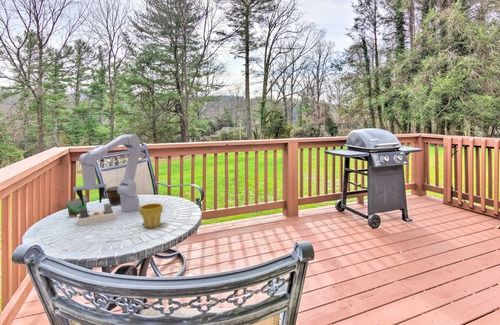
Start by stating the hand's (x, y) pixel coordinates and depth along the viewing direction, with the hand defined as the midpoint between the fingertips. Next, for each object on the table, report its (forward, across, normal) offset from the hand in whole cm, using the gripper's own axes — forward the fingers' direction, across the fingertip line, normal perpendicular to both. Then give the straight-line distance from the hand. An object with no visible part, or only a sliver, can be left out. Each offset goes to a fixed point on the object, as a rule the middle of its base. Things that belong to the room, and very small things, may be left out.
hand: (91, 203), depth 146 cm
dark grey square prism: (+9, -4, 0) cm, 10 cm away
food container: (+10, -5, +16) cm, 20 cm away
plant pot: (+10, +24, -22) cm, 34 cm away
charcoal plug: (+9, +7, 0) cm, 11 cm away
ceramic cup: (+10, +13, +29) cm, 33 cm away
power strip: (+10, +2, 0) cm, 10 cm away
